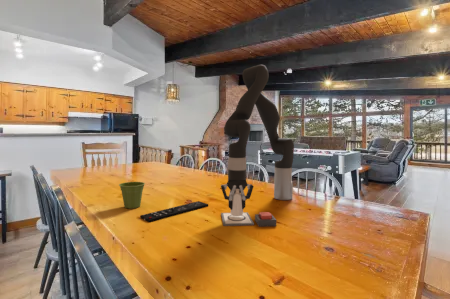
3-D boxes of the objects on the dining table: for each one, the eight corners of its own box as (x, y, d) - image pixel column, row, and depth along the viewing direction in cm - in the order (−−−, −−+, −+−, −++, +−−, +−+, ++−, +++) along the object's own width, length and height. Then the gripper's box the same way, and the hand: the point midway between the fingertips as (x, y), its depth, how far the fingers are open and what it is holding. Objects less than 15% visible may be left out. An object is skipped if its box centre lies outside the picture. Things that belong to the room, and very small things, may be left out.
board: (247, 213, 113) (247, 211, 113) (254, 225, 99) (254, 222, 99) (221, 214, 112) (221, 212, 112) (223, 225, 98) (223, 223, 98)
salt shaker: (229, 212, 108) (229, 186, 107) (242, 211, 108) (242, 186, 108) (231, 216, 103) (231, 189, 102) (244, 216, 103) (244, 189, 102)
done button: (269, 216, 104) (269, 212, 104) (271, 219, 100) (272, 215, 99) (259, 216, 103) (259, 212, 103) (261, 220, 99) (261, 215, 99)
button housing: (271, 219, 105) (271, 213, 105) (276, 226, 98) (276, 219, 98) (254, 220, 105) (255, 214, 105) (258, 226, 98) (258, 220, 98)
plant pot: (150, 206, 123) (149, 183, 122) (126, 212, 114) (125, 187, 113) (138, 201, 131) (137, 180, 130) (115, 206, 122) (114, 183, 121)
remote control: (139, 219, 107) (139, 214, 107) (198, 204, 129) (198, 200, 129) (148, 224, 101) (148, 219, 101) (208, 207, 124) (208, 203, 124)
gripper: (252, 166, 109) (251, 205, 110) (219, 167, 107) (219, 206, 109) (256, 169, 101) (255, 211, 102) (220, 169, 100) (220, 212, 101)
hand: (236, 208), depth 105 cm, fingers closed on salt shaker, 4 cm apart
